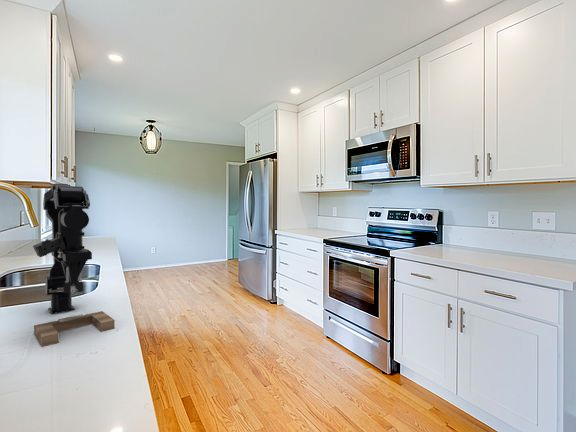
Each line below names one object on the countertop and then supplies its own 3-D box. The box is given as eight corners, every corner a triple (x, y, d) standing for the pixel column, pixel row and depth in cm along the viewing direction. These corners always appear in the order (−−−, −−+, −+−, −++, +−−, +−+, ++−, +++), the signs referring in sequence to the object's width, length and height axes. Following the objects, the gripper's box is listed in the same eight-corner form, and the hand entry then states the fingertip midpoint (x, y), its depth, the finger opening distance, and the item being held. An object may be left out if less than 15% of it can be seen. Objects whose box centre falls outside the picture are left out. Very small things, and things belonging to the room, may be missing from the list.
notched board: (34, 334, 87) (34, 323, 87) (102, 318, 100) (102, 309, 99) (41, 346, 80) (41, 335, 79) (114, 328, 92) (114, 318, 92)
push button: (55, 295, 88) (54, 260, 88) (59, 291, 93) (58, 258, 93) (83, 292, 91) (83, 258, 91) (85, 289, 96) (85, 256, 96)
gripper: (29, 228, 92) (30, 281, 92) (42, 231, 79) (42, 292, 80) (74, 227, 100) (75, 276, 101) (92, 229, 88) (92, 285, 88)
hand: (71, 282), depth 92 cm, fingers closed on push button, 4 cm apart
